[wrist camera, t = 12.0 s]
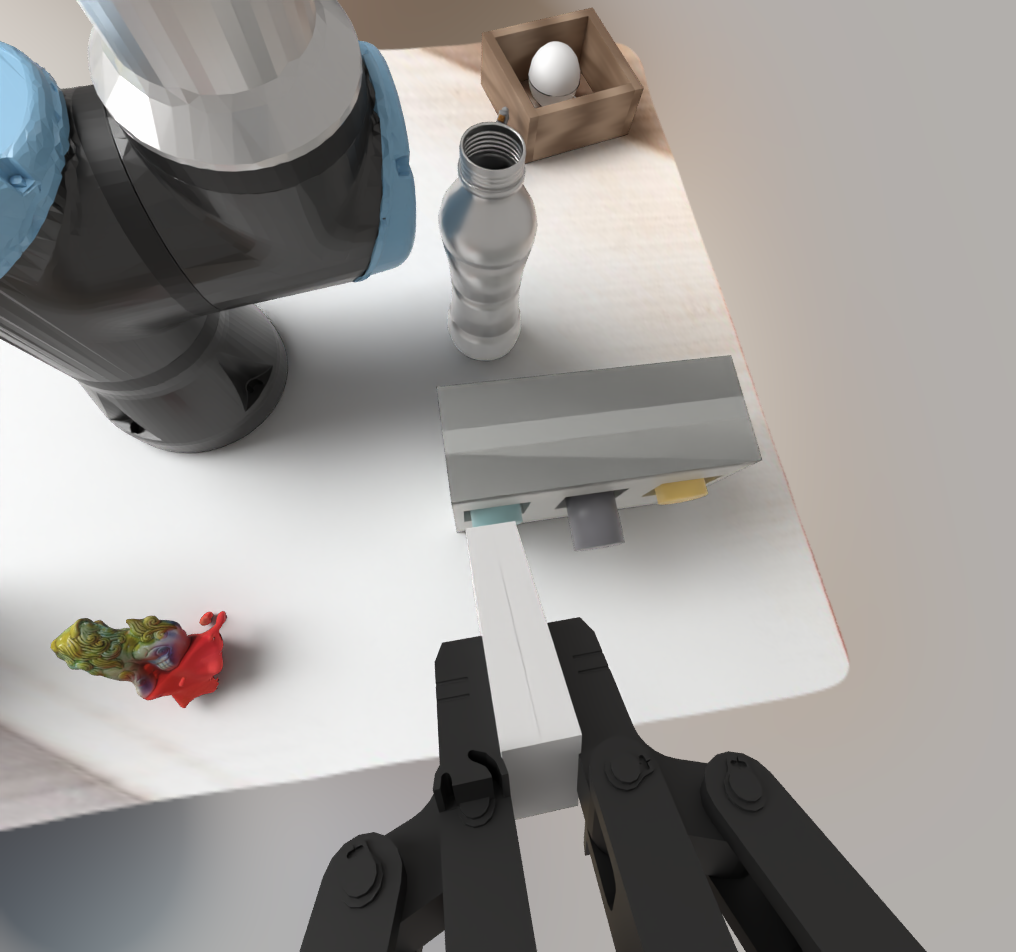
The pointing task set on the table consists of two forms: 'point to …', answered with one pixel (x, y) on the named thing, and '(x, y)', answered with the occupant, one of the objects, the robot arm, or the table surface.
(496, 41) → the organizer frame
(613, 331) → the table surface
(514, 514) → the teal button
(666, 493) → the amber button
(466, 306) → the plastic bottle
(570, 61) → the white egg
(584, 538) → the charcoal button
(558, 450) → the console
